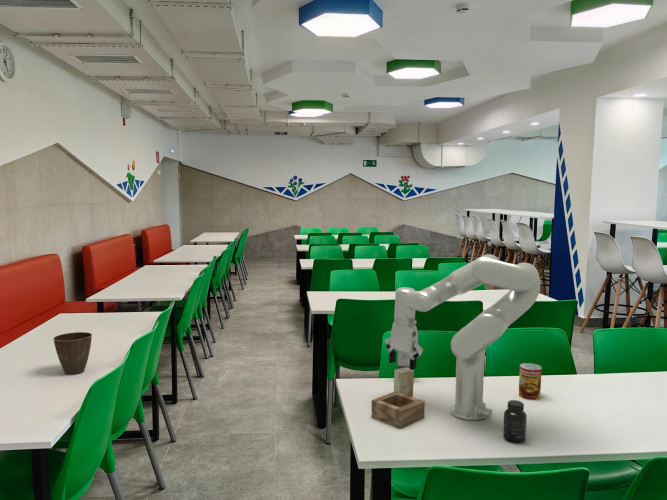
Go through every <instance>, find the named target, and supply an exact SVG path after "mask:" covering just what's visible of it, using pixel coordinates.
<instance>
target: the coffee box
mask: <svg viewBox="0 0 667 500" xmlns="http://www.w3.org/2000/svg"><path fill="white" fill-rule="evenodd" d="M412 354H413V353H412ZM410 359H411V357H410V355H409V353H405V352H402V351H398V350H397V369H401V368H409V366H410Z"/></svg>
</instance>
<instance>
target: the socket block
mask: <svg viewBox="0 0 667 500" xmlns="http://www.w3.org/2000/svg"><path fill="white" fill-rule="evenodd" d="M425 404H426V401H425V400H423V399H419V398H417V397H414V396H413V397H411V396H408V395H405V394H402V393H399V392H396V391H395V392H394V391H392V392H389V393H387V394H385V395H381V396H380V397H377V398H374V399H371V418H373V419H376V420H378V421H381V422H383V423H385V424H388V425H390V426H392V427H396V428H397V429H400V430H401V429H403V428H405V427H408V426H410V425H411V424H414V423H416V422H419V421H420V420H422V419H425V411H426V410H425Z"/></svg>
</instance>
